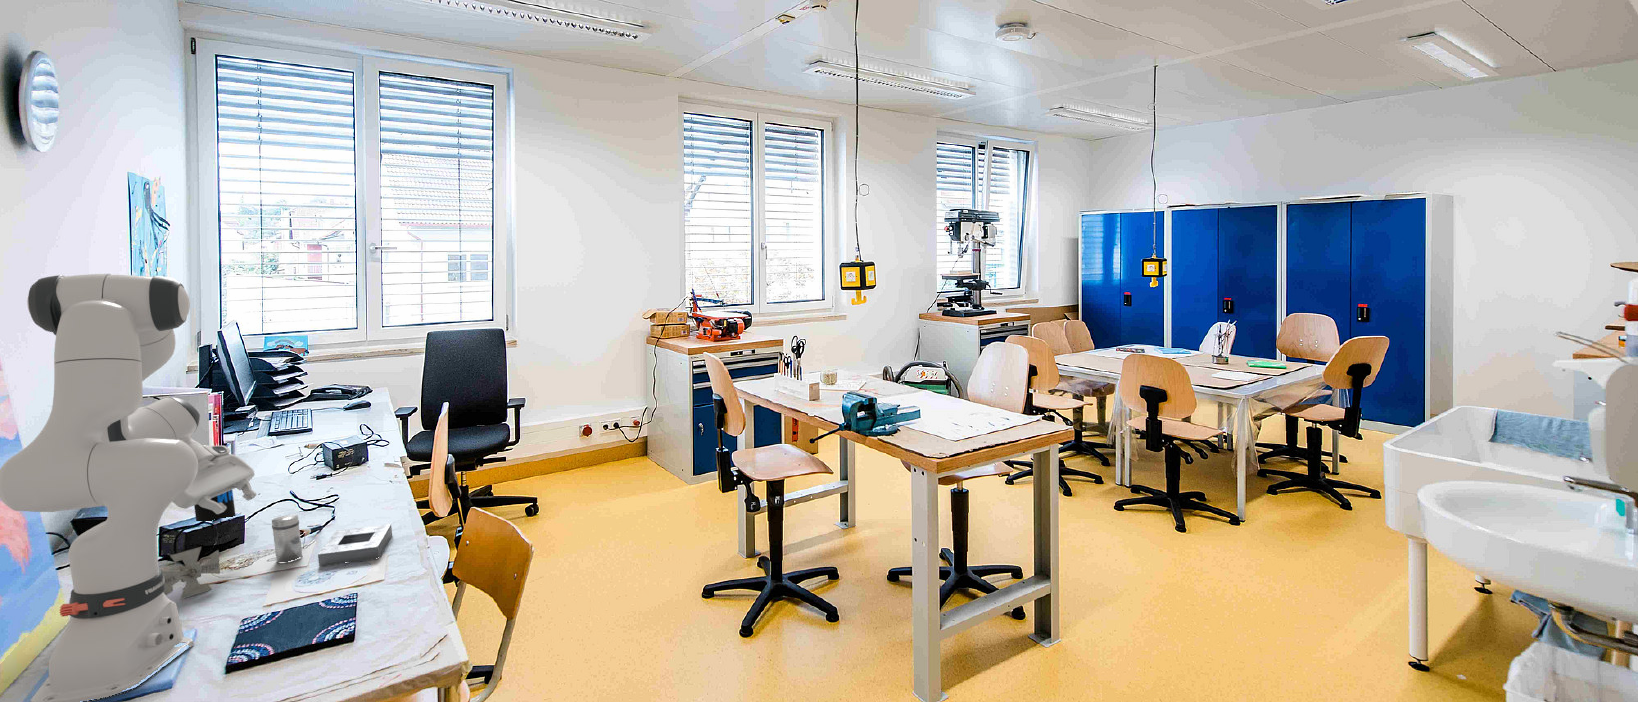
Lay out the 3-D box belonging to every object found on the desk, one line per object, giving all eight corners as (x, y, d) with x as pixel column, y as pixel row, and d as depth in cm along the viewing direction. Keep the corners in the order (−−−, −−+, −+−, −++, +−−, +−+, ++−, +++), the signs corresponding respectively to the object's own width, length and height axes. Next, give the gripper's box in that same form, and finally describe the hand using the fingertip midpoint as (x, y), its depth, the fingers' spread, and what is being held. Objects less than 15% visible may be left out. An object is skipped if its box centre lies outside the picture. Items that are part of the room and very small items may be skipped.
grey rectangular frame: (378, 558, 175) (377, 546, 174) (319, 566, 171) (317, 554, 170) (392, 535, 190) (391, 524, 189) (337, 542, 186) (336, 530, 185)
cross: (219, 584, 162) (213, 540, 161) (225, 586, 161) (220, 542, 160) (160, 604, 153) (154, 557, 152) (166, 606, 152) (160, 560, 151)
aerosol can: (191, 543, 186) (181, 466, 184) (229, 532, 194) (220, 457, 191) (207, 549, 182) (197, 470, 180) (246, 537, 190) (236, 461, 187)
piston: (299, 561, 174) (294, 520, 173) (272, 565, 172) (267, 523, 171) (305, 553, 179) (301, 513, 177) (280, 556, 177) (275, 516, 176)
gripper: (160, 467, 161) (212, 509, 163) (231, 444, 182) (276, 481, 183) (142, 488, 162) (193, 530, 163) (214, 462, 182) (260, 499, 183)
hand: (238, 504), depth 173 cm, fingers open, 8 cm apart
